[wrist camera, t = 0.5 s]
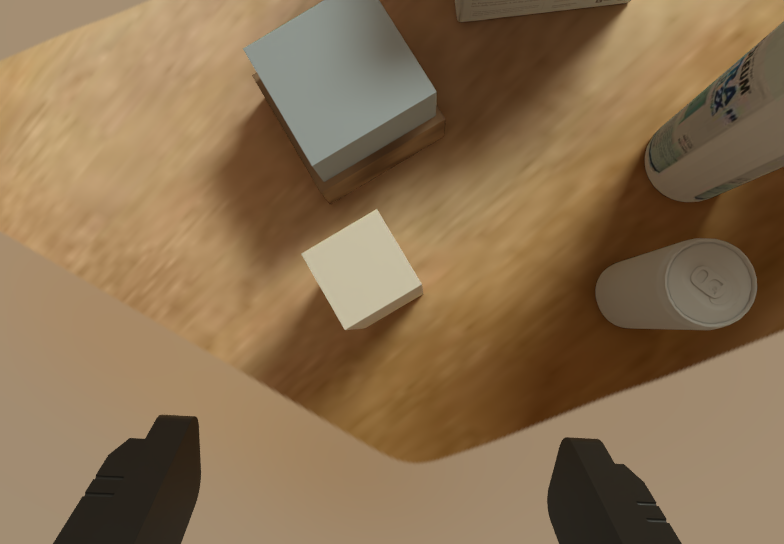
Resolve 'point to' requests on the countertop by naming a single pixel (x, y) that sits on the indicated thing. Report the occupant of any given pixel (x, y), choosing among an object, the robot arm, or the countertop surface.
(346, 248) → the cream block
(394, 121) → the slate-blue top block
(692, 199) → the spray can
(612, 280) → the beverage can
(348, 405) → the countertop surface
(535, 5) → the supplement box
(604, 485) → the robot arm
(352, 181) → the walnut base block
